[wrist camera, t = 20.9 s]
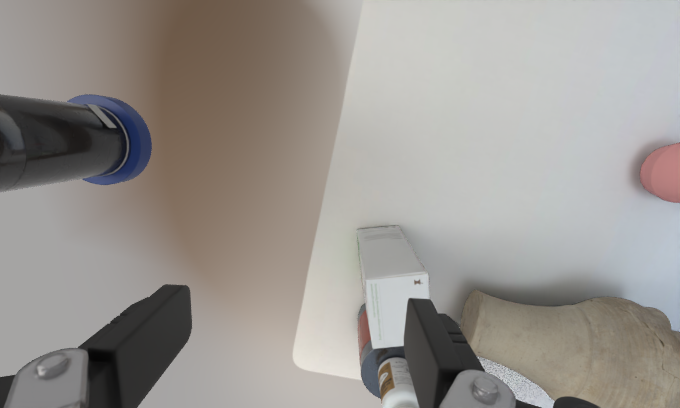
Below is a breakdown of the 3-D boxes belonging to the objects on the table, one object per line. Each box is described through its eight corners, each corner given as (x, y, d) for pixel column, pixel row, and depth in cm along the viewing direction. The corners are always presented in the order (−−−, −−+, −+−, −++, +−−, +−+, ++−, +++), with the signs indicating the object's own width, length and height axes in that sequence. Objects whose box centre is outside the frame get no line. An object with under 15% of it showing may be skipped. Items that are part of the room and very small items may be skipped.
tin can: (355, 342, 49) (358, 400, 38) (358, 292, 47) (363, 339, 37) (409, 345, 49) (427, 403, 38) (415, 295, 47) (435, 343, 37)
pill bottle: (377, 355, 37) (386, 412, 29) (414, 355, 37) (432, 412, 29) (376, 387, 38) (384, 449, 30) (413, 387, 38) (430, 450, 30)
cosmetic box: (356, 228, 45) (362, 275, 30) (402, 223, 45) (431, 269, 30) (361, 281, 47) (369, 351, 32) (405, 277, 47) (435, 346, 31)
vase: (412, 432, 37) (689, 552, 31) (477, 282, 29) (865, 407, 23) (422, 315, 57) (592, 376, 51) (462, 207, 49) (670, 265, 43)
